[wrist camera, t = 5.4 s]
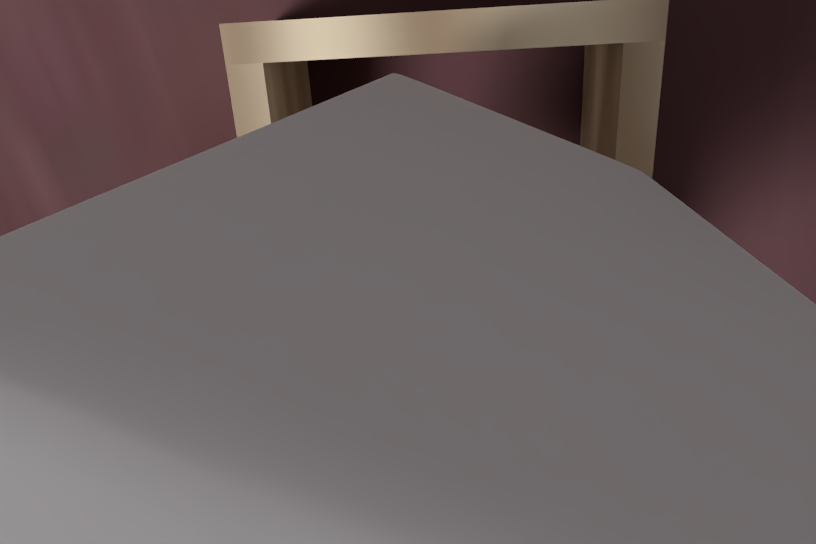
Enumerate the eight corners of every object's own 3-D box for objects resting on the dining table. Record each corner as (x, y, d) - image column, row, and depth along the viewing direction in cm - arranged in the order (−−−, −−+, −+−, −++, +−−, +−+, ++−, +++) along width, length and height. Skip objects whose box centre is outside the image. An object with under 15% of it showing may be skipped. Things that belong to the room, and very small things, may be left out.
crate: (619, 0, 23) (669, -4, 18) (598, 318, 28) (631, 392, 23) (273, 22, 24) (218, 23, 19) (311, 323, 30) (278, 393, 24)
